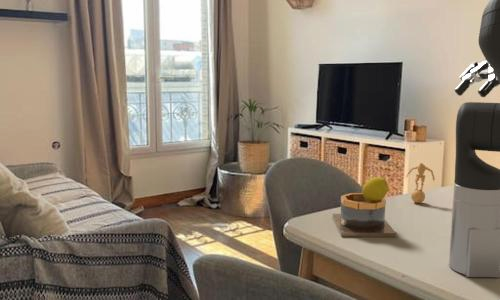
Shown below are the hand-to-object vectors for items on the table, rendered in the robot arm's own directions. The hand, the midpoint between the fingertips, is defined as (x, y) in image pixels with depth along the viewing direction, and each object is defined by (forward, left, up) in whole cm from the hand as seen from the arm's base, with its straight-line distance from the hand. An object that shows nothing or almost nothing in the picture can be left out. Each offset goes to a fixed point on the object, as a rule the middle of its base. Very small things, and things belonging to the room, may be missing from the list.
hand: (468, 94), depth 123 cm
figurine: (+22, +4, -34) cm, 41 cm away
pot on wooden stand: (-3, +26, -34) cm, 42 cm away
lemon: (-2, +25, -27) cm, 37 cm away
